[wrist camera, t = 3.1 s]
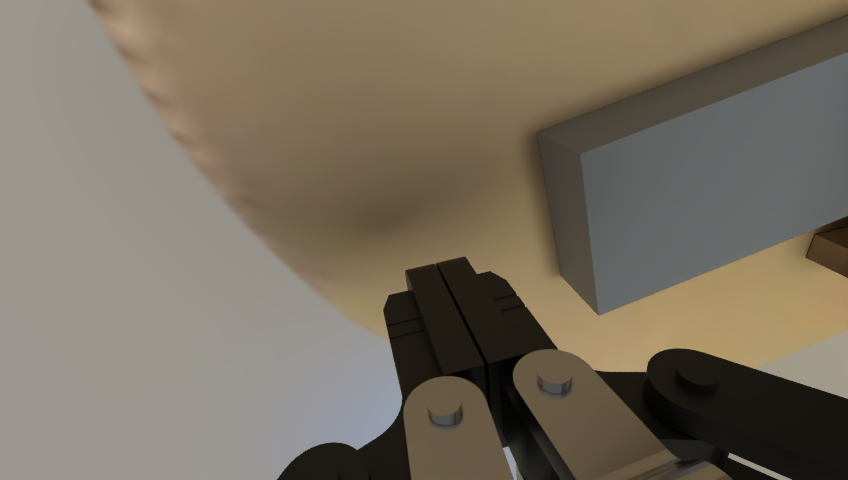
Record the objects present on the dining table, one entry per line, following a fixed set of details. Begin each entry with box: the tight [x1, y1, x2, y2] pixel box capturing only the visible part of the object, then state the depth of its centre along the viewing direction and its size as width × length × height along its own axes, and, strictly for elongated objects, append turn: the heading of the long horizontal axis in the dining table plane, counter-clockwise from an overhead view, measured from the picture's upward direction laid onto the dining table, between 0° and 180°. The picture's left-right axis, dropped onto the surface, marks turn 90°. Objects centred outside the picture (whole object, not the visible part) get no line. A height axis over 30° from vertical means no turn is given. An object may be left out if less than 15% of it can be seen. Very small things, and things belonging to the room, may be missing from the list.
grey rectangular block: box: [537, 15, 848, 315], centre depth 14 cm, size 6×12×3 cm, turn 107°
